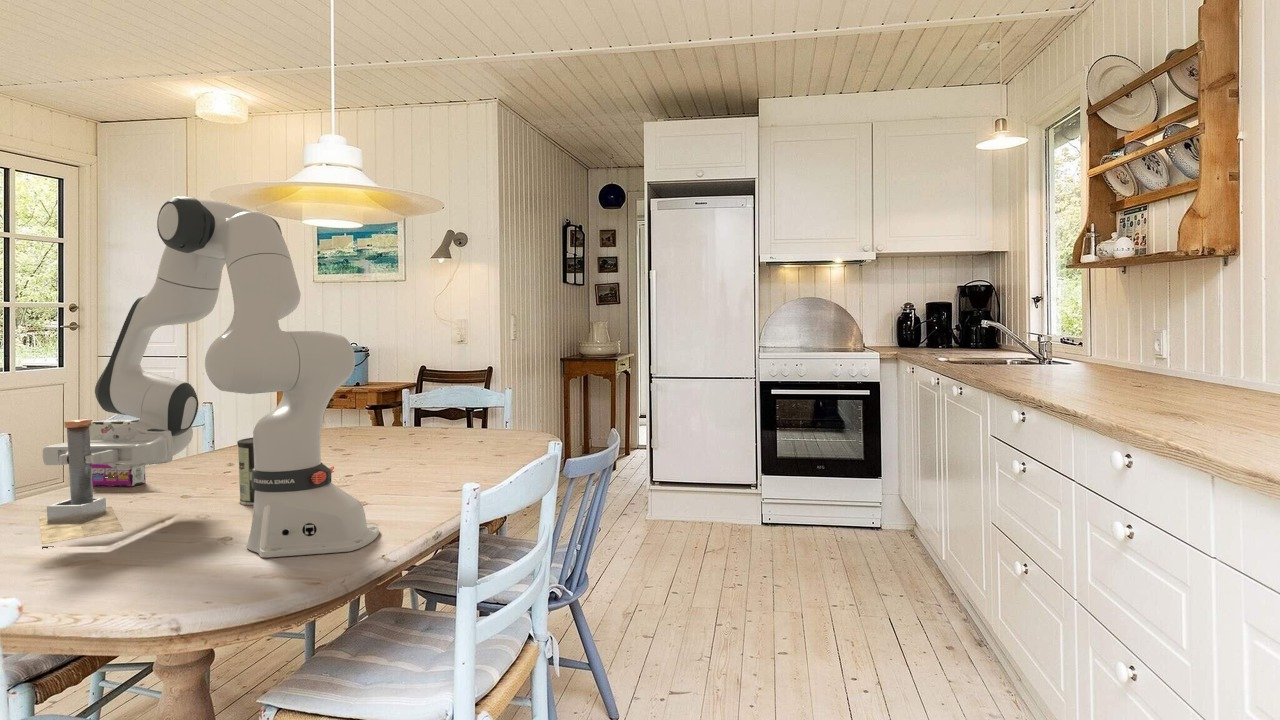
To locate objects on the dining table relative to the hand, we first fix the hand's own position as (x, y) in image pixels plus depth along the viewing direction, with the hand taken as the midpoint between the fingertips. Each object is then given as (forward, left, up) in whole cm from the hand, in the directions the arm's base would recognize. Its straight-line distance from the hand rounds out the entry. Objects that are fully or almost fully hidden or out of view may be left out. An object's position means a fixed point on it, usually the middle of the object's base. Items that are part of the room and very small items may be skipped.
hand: (76, 459), depth 128 cm
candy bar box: (+28, -52, -16) cm, 61 cm away
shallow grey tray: (+14, -18, -15) cm, 27 cm away
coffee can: (-17, -34, -16) cm, 41 cm away
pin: (0, -1, -8) cm, 8 cm away
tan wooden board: (+9, -13, -16) cm, 22 cm away
